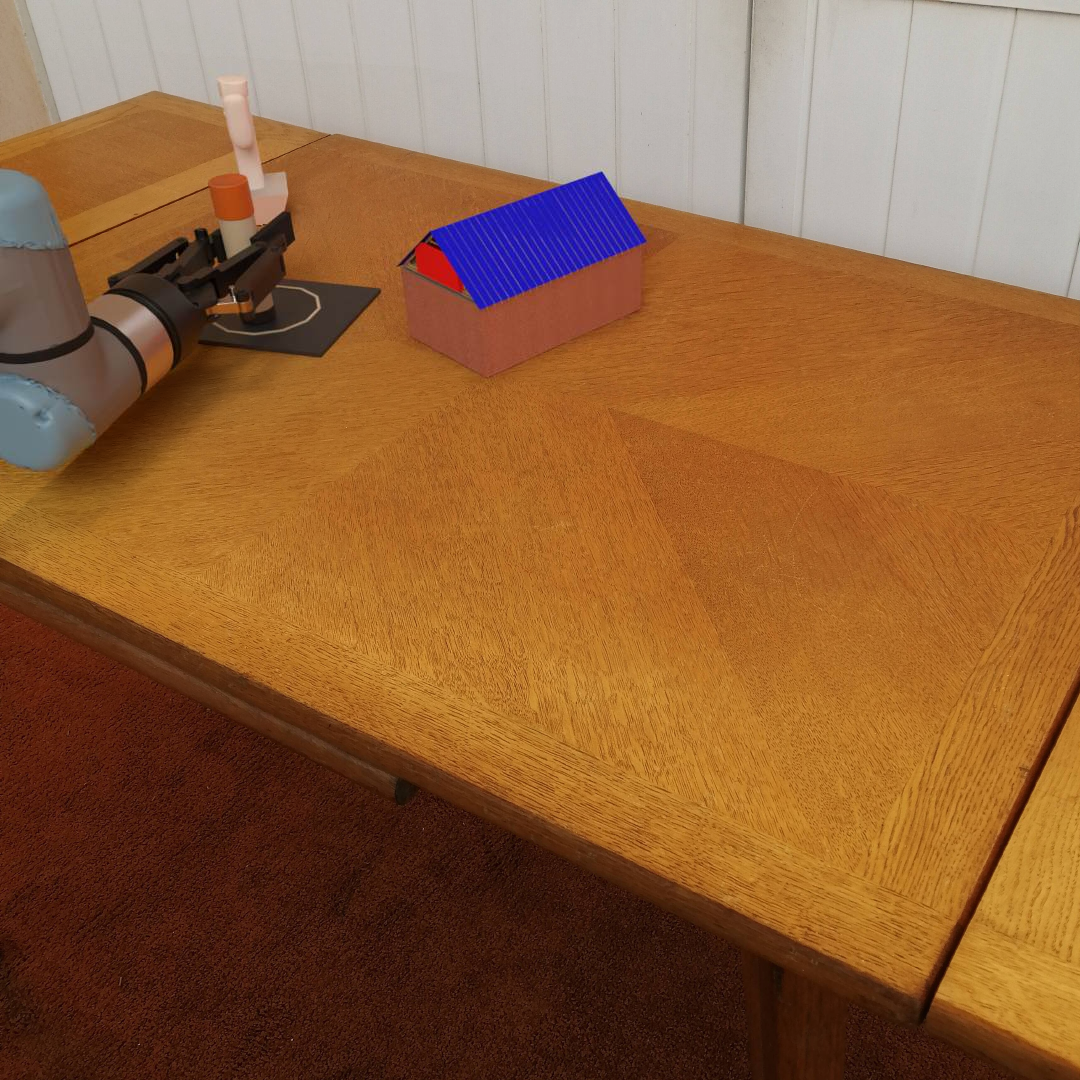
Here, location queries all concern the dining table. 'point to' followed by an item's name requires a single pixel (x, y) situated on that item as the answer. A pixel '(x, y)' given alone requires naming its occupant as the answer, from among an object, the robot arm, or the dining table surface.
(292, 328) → the slate board
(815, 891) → the dining table surface
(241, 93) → the figurine
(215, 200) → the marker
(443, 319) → the house
